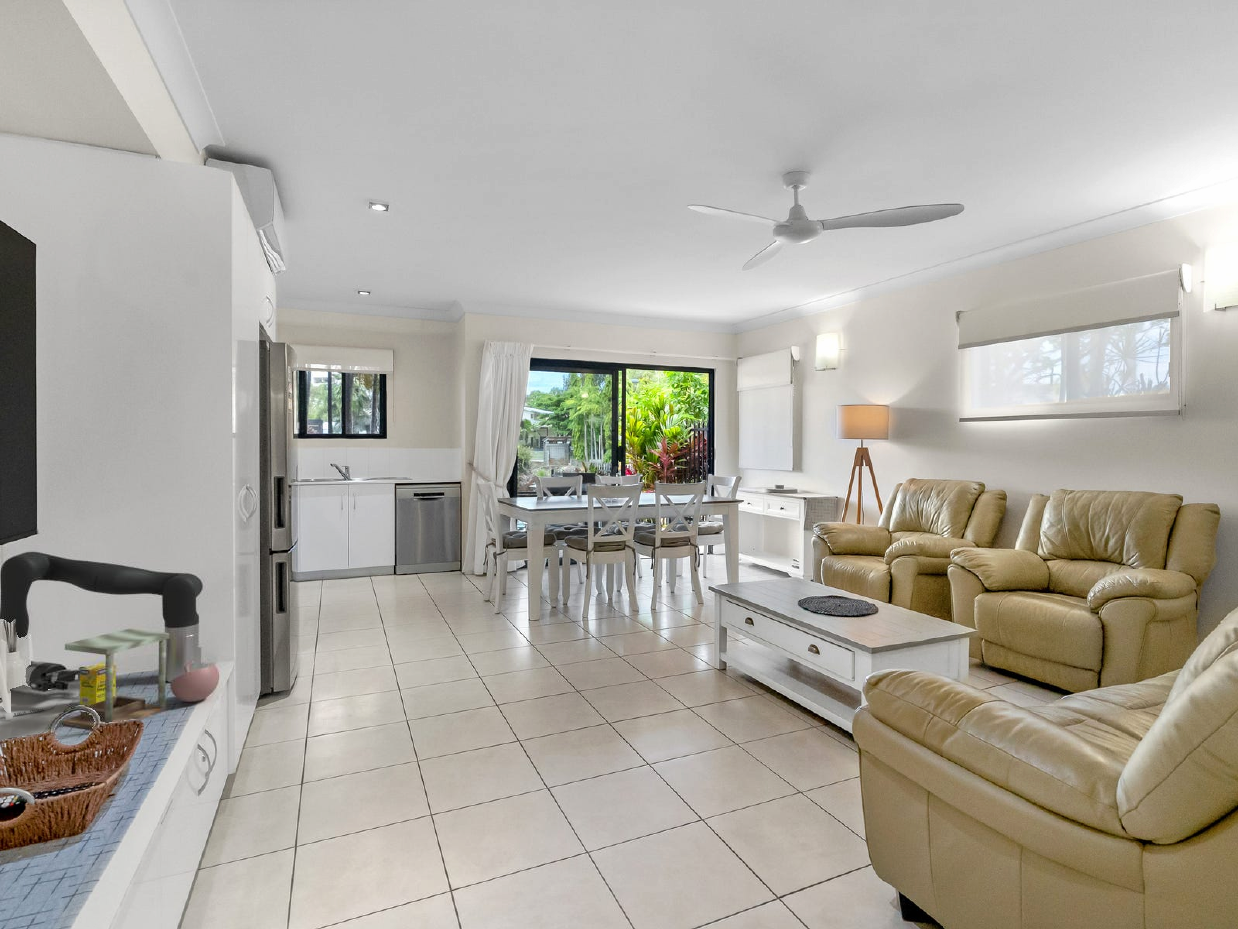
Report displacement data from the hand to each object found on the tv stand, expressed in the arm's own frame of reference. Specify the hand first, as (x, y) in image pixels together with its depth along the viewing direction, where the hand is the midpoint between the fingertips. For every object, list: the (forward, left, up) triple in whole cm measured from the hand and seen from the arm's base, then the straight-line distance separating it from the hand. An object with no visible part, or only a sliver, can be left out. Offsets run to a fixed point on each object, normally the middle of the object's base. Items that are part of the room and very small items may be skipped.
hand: (82, 681), depth 188 cm
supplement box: (0, +6, -6) cm, 9 cm away
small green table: (+5, +19, -6) cm, 21 cm away
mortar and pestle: (-11, +29, -6) cm, 32 cm away
